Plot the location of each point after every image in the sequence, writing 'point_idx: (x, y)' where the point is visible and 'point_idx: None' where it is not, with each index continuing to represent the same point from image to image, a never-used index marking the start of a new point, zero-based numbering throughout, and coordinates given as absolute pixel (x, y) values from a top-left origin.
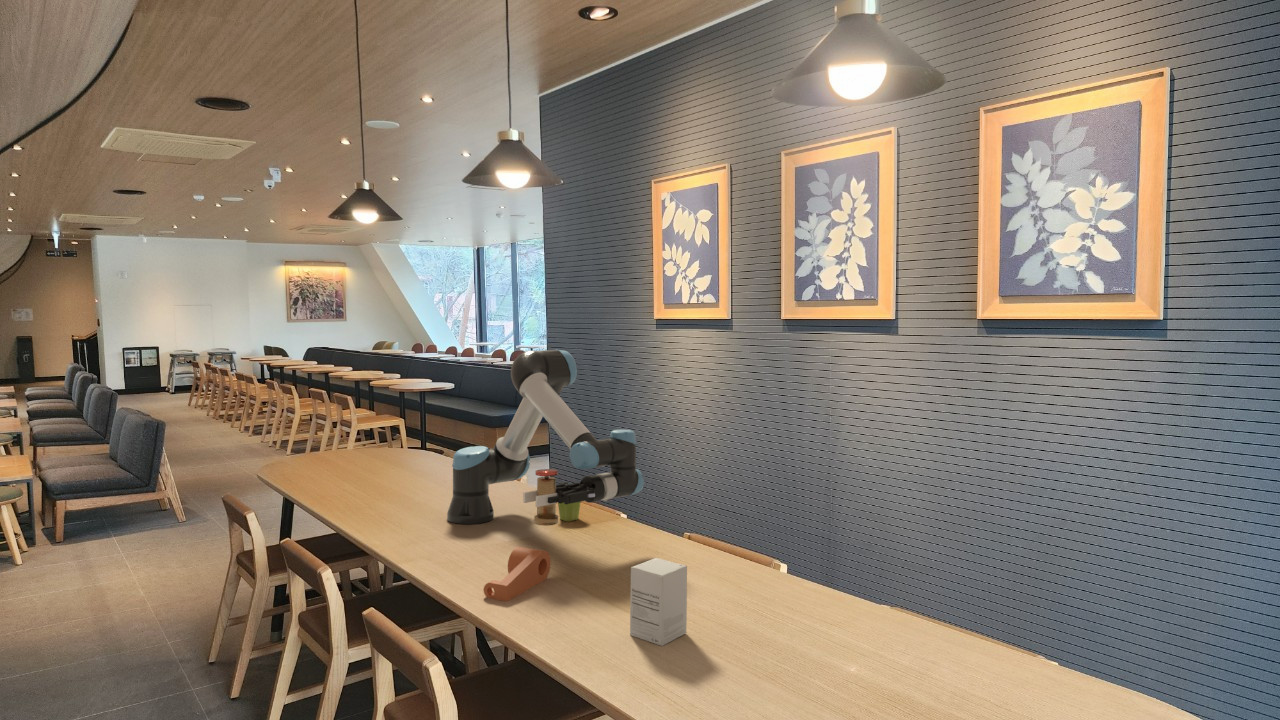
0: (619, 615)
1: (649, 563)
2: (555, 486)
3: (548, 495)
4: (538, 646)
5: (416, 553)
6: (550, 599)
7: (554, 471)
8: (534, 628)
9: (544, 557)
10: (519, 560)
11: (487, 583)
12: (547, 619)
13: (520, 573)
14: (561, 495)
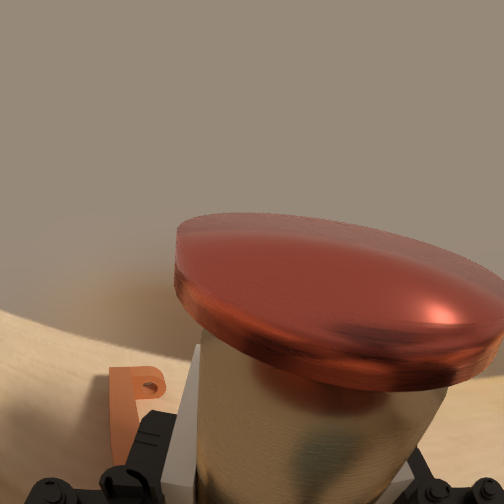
0: None
1: None
2: (216, 464)
3: (179, 409)
4: (7, 319)
5: (457, 407)
6: (45, 421)
7: (270, 256)
8: (25, 343)
9: None
10: None
11: (154, 367)
12: (18, 364)
13: (109, 390)
14: (110, 495)
